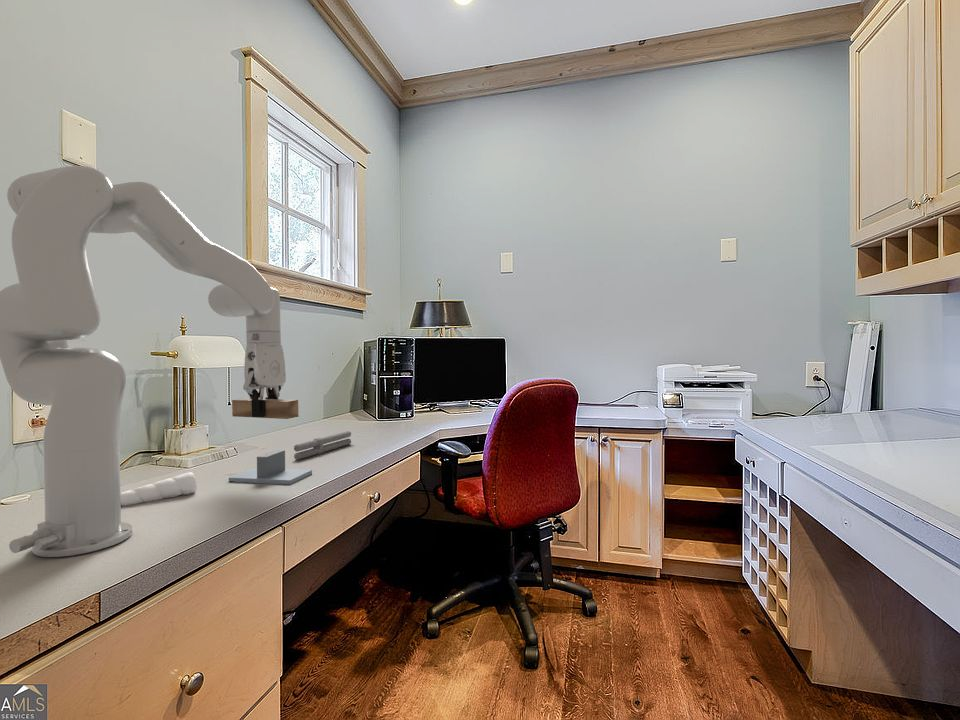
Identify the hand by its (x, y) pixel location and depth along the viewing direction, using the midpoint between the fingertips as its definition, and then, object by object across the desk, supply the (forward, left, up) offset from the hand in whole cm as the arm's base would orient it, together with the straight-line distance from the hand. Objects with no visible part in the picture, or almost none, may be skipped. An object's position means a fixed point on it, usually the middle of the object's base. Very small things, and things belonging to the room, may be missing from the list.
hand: (265, 414), depth 116 cm
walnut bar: (0, 0, -1) cm, 1 cm away
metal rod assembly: (+34, +3, -16) cm, 38 cm away
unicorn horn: (-20, +16, -17) cm, 31 cm away
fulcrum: (+3, 0, -16) cm, 16 cm away
